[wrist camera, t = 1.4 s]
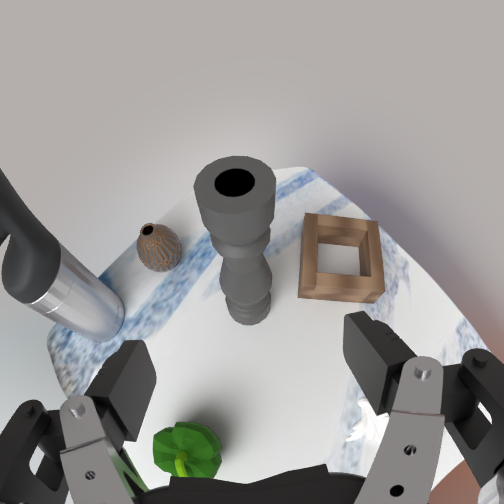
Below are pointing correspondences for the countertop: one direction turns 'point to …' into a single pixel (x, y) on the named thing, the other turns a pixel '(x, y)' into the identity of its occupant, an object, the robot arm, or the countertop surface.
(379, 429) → the acanthus leaf ornament
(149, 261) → the vase
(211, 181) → the candle holder
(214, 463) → the bell pepper
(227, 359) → the countertop surface
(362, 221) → the socket block
